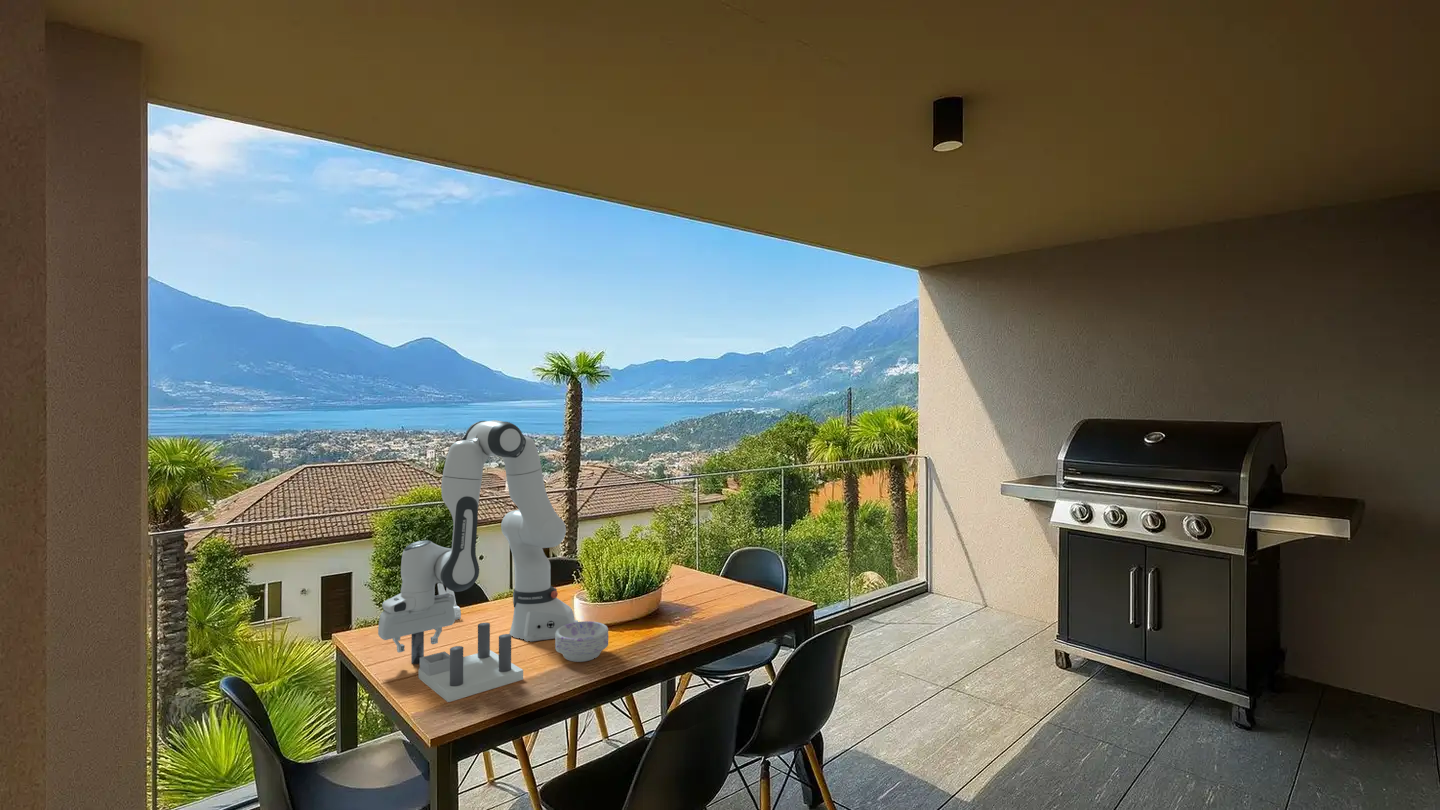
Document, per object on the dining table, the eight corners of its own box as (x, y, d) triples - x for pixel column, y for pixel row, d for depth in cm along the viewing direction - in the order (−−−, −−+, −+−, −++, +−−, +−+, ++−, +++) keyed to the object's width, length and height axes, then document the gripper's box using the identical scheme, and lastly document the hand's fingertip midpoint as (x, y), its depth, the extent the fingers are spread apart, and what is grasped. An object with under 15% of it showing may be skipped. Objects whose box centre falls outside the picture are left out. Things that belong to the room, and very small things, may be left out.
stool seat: (490, 658, 191) (490, 618, 191) (523, 679, 177) (523, 636, 177) (418, 678, 177) (418, 635, 177) (448, 702, 163) (448, 655, 163)
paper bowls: (560, 669, 183) (560, 641, 183) (551, 651, 197) (551, 624, 197) (614, 661, 189) (614, 633, 189) (601, 644, 203) (601, 618, 203)
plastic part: (438, 625, 221) (438, 590, 221) (428, 617, 228) (428, 584, 228) (461, 620, 226) (461, 586, 226) (451, 613, 233) (451, 580, 233)
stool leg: (424, 659, 191) (425, 628, 191) (422, 663, 187) (422, 631, 187) (413, 660, 190) (413, 628, 190) (410, 664, 187) (410, 632, 187)
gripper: (450, 589, 198) (449, 635, 198) (376, 603, 184) (376, 653, 184) (458, 594, 194) (458, 641, 194) (383, 608, 179) (383, 659, 179)
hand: (417, 647), depth 189 cm, fingers open, 8 cm apart
